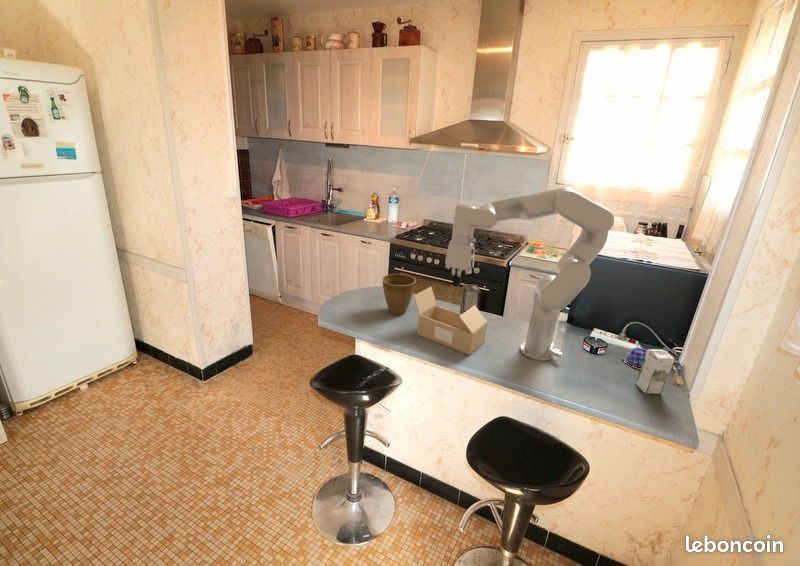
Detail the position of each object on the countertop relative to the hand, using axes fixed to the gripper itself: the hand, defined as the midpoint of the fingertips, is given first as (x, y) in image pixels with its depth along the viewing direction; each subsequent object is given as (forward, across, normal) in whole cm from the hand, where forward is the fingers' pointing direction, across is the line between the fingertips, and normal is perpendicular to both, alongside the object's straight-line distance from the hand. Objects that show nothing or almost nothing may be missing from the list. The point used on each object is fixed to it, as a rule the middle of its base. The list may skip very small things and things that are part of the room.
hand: (456, 285), depth 150 cm
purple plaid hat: (+24, -64, -34) cm, 76 cm away
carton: (+24, 0, 0) cm, 24 cm away
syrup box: (+24, -69, -16) cm, 75 cm away
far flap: (+10, +13, 0) cm, 17 cm away
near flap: (+12, -9, 0) cm, 15 cm away
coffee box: (+24, +2, -20) cm, 31 cm away
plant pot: (+24, +31, -6) cm, 39 cm away
